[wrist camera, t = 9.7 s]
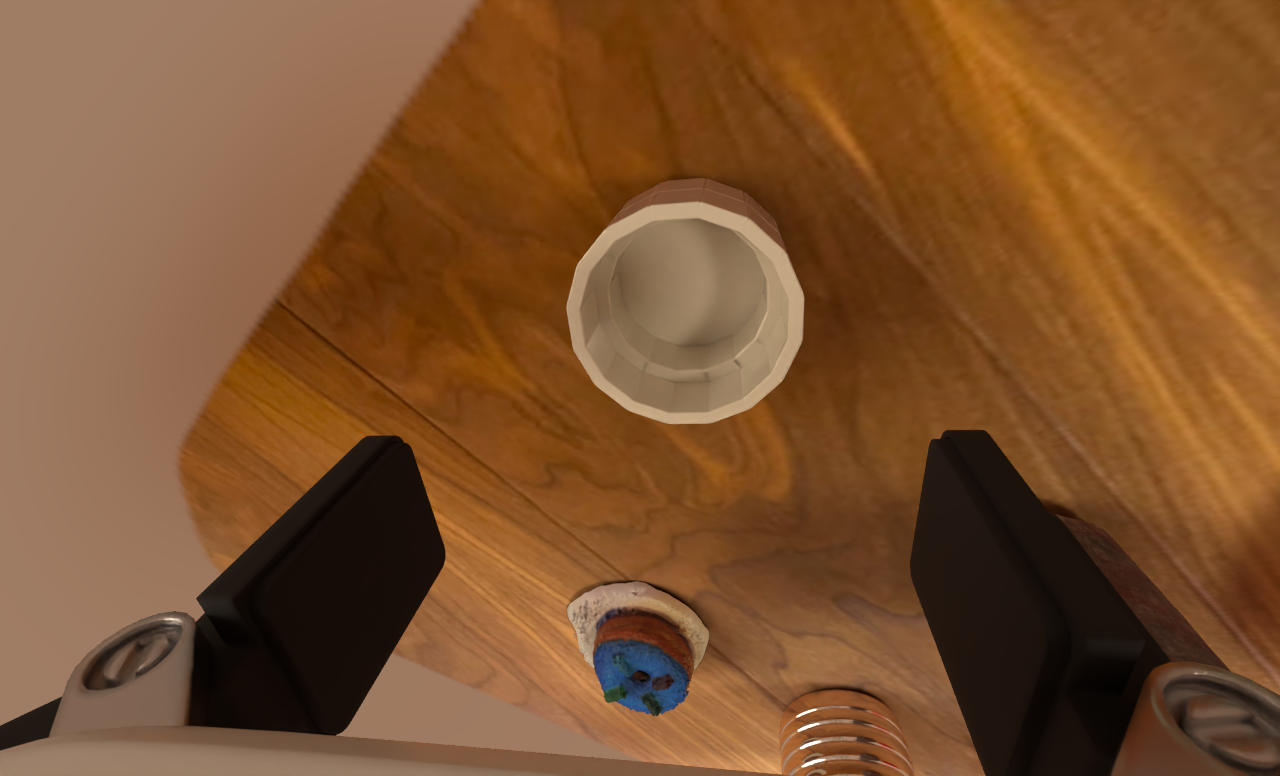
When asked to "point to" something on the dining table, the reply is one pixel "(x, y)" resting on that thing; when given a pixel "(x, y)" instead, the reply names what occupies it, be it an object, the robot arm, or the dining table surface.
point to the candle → (1143, 597)
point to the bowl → (687, 304)
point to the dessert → (639, 644)
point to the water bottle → (842, 737)
